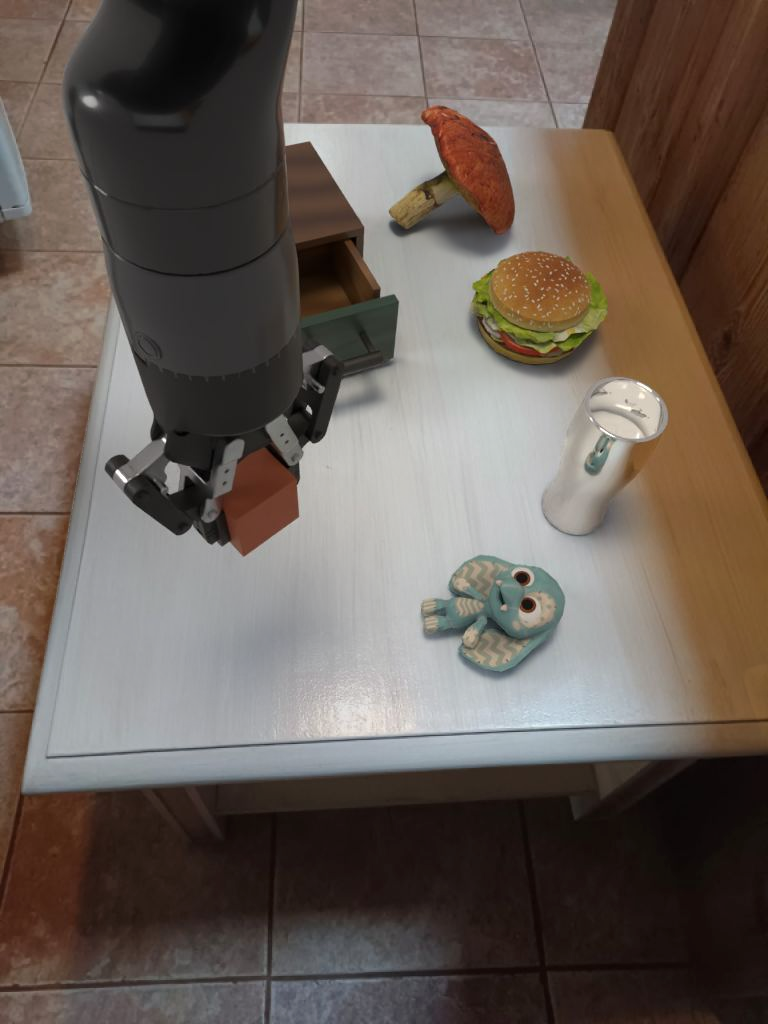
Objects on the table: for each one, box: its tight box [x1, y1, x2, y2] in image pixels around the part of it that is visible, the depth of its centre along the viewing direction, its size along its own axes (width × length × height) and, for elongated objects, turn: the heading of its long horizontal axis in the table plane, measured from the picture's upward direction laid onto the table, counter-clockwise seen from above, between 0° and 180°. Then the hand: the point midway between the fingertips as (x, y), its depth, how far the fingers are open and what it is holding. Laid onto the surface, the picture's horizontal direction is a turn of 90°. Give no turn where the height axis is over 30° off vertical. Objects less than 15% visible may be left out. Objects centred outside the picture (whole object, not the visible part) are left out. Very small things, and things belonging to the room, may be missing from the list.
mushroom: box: [388, 104, 516, 236], centre depth 86 cm, size 16×15×15 cm
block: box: [222, 447, 300, 557], centre depth 44 cm, size 4×4×4 cm
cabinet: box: [285, 140, 365, 259], centre depth 80 cm, size 16×14×10 cm
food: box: [470, 250, 609, 365], centre depth 78 cm, size 14×14×8 cm
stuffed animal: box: [420, 554, 566, 673], centre depth 60 cm, size 11×7×12 cm
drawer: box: [296, 238, 400, 377], centre depth 74 cm, size 19×13×8 cm
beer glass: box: [541, 376, 669, 536], centre depth 63 cm, size 7×7×15 cm
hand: (249, 510), depth 45 cm, fingers closed on block, 4 cm apart
